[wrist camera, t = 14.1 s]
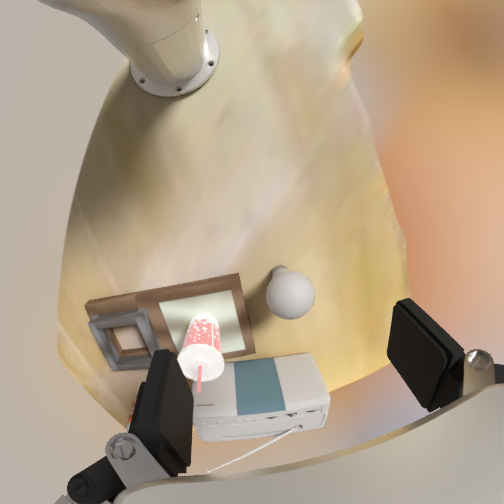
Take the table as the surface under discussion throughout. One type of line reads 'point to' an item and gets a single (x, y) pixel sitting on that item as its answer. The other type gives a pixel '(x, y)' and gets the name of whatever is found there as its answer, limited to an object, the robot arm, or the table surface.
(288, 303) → the lightbulb
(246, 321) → the socket board
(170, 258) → the table surface
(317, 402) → the stereo radio cassette player
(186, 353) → the beverage cup
